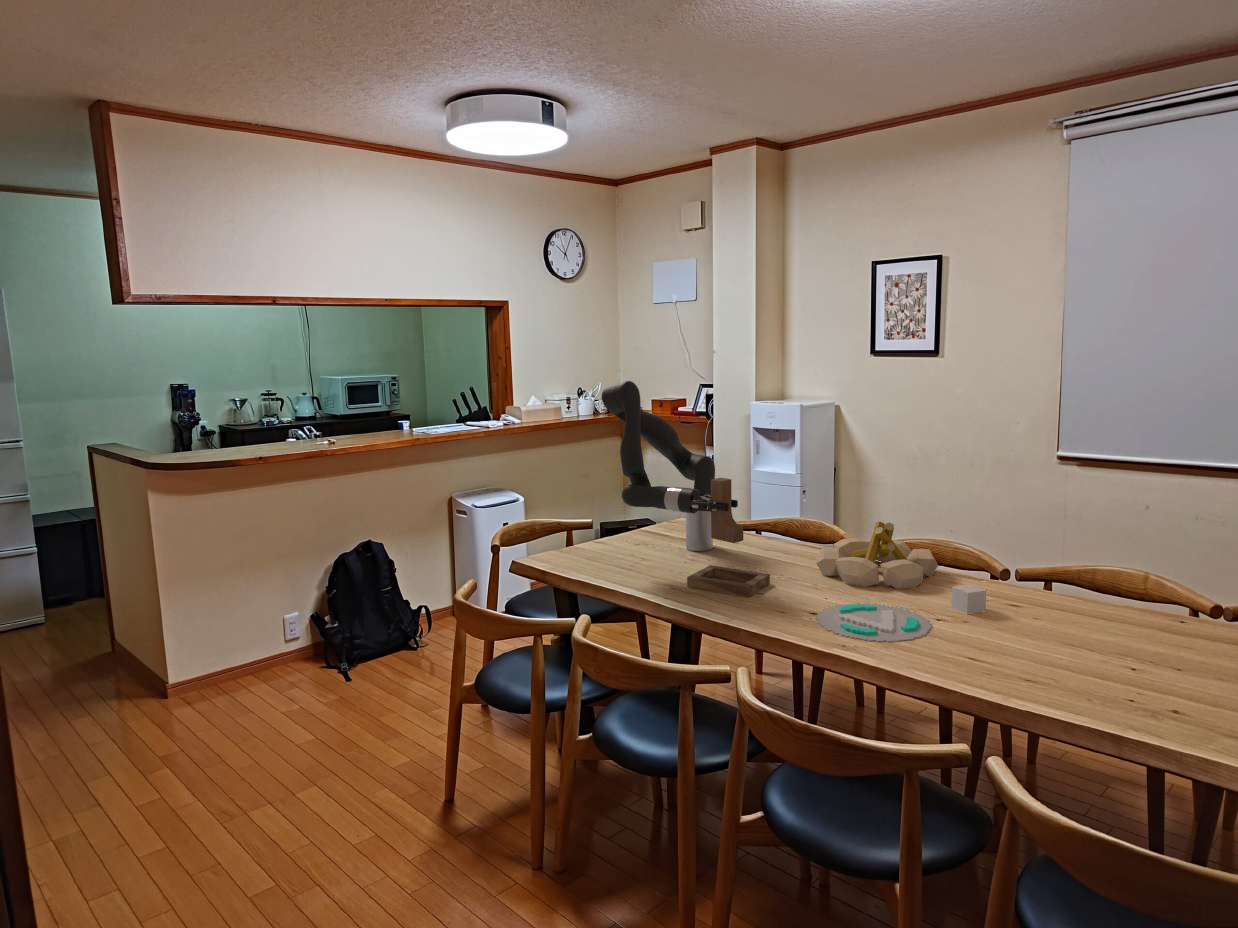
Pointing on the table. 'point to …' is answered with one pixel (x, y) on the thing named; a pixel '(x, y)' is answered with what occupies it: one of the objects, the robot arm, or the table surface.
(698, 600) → the table surface
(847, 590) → the table surface
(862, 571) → the campfire
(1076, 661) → the table surface
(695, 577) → the brown rectangular tray
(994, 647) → the table surface
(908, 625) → the grey flat disc
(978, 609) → the gray cube
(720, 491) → the wooden block
